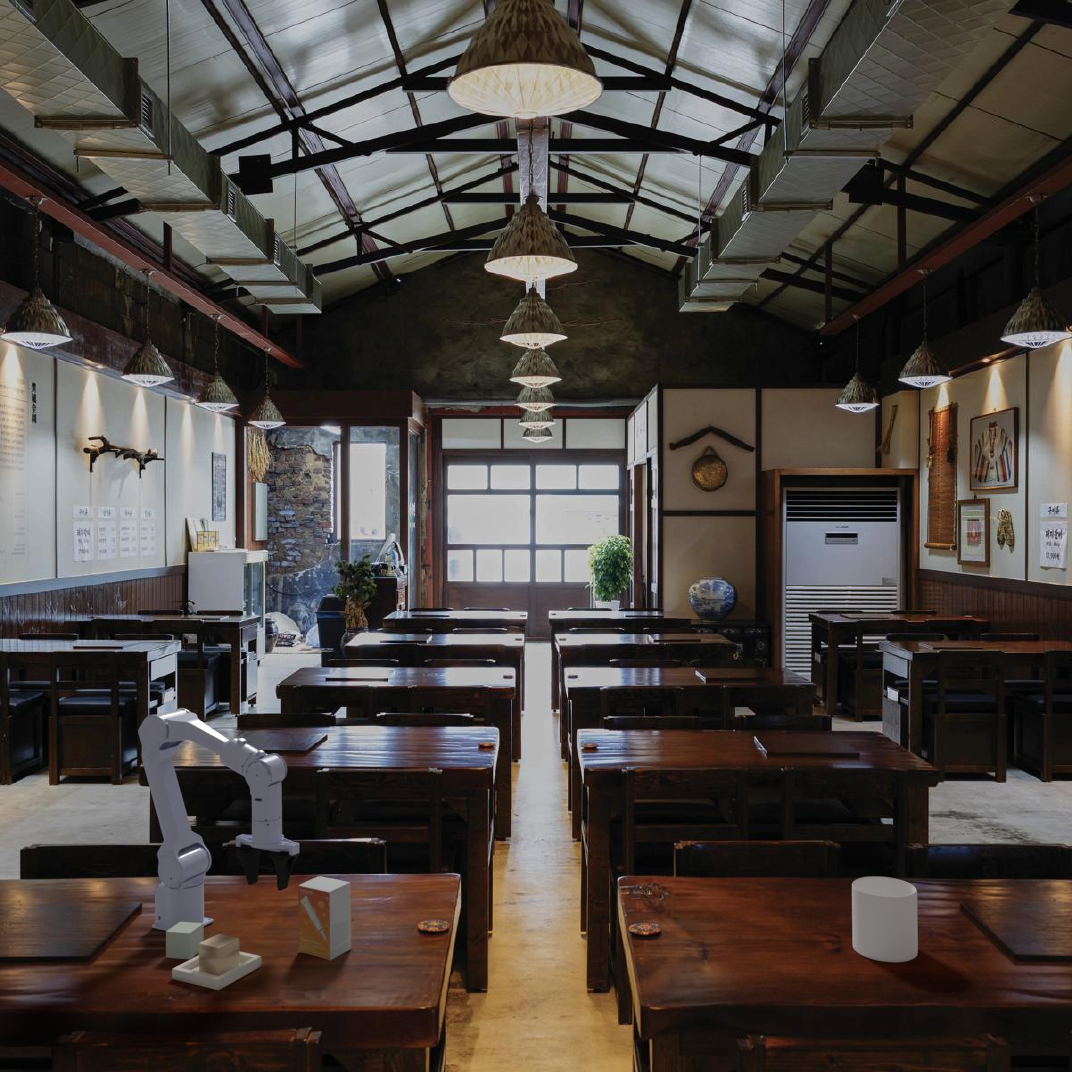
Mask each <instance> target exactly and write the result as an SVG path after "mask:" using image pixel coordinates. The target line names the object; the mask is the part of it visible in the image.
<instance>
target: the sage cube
mask: <svg viewBox="0 0 1072 1072" xmlns="http://www.w3.org/2000/svg"><path fill="white" fill-rule="evenodd" d="M204 927H205V926H204V923H193V922H179V923H177V924H176V925H175V926H173V927H172V928H170V929H169V930H167V931H165V957H166V958H169V959H180V960H181V959H182V960H190V959H192V958H194V957H196V955H197V954H198V955H199V943H200V942H203V941H205V937H204V935H205V933H204V932H205V931H204Z"/></svg>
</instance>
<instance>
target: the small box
mask: <svg viewBox="0 0 1072 1072" xmlns="http://www.w3.org/2000/svg"><path fill="white" fill-rule="evenodd" d="M351 883H352V882H350V881H345V880H342V879H341V880H340V879H337V878H332V877H326V876H321V875H318V876H316V877H314V878H311V879H309V880H307V881H305V882H302V883H300V884H299V885H297V888H298V893H297V894H298V895H297V896H298V897H297V898H298V899H297V900H298V903H297V904H298V908H297V909H298V910H297V911H298V912H297V913H298V921H297V922H298V923H297V924H298V925H297V926H298V929H297V930H298V953H303V954H307V955H309V956H310V955H311V956H314V957H318V958H321V959H323V960H324V959H325V960H327V961H332V960H335V958H337V957H339V956H341V955H342V954H345V953H346V952H348V951H349V950H351V949H352V901H351V898H352V896H351V895H352V894H351V893H352V892H351V889H352V888H351V887H352V886H351V885H352V884H351Z"/></svg>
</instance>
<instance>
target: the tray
mask: <svg viewBox="0 0 1072 1072" xmlns="http://www.w3.org/2000/svg"><path fill="white" fill-rule="evenodd" d="M239 964H240V965H239V966H237V967H235V968H233V969H231V970H230V971H228V972H226V973H224V974H222V975H220V976H217V975H213V974H210V973H206V972H202V971H199V954H198V955H197V956H196V955H195V956H194V957H193V958H191V959H187V961H185V962H183V963H181V964H179V965H177V966H175V967H173V968H172V969H171V970H172V971H171V973H172V974H171V978H172V980H176V981H179V982H183V983H188V984H192V985H195V986H200V987H202V988H208V989H212V990H216V991H221V990H222V989H223V988H225V987H227V986H229V985H230V984H232V983H234V982H236V981H237V980H239V979H241V978H243V977H245V976H246V975H248V974H250V973H251V972H254V971H256V970H257V969H259V968H261V967H262V955H261V956H260V955H258V954H253V953H248V952H244V951H240V950H239Z"/></svg>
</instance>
